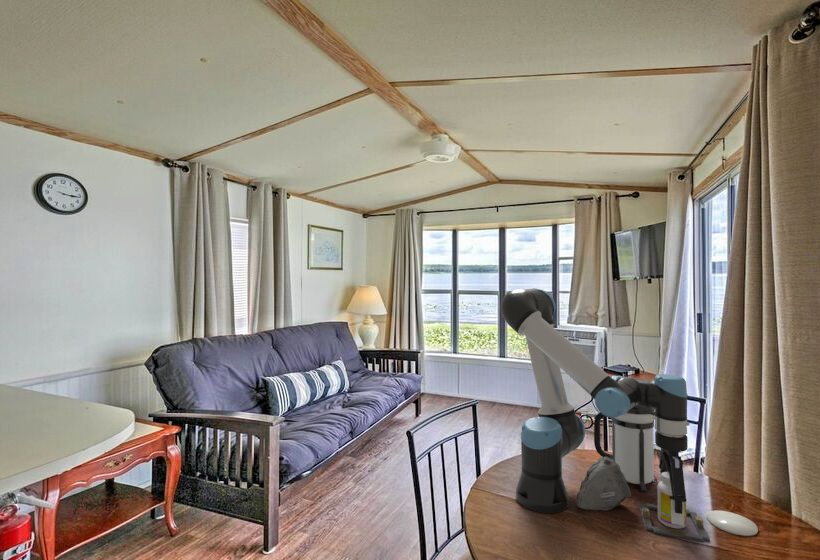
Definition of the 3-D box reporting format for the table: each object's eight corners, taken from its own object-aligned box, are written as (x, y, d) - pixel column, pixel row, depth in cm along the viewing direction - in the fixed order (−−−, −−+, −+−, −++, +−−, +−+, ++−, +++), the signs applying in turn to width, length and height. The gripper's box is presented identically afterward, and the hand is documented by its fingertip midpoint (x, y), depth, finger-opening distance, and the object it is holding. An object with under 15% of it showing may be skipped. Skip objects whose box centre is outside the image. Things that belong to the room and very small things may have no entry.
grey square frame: (646, 531, 111) (646, 522, 111) (638, 504, 124) (638, 496, 124) (710, 543, 105) (710, 533, 105) (695, 514, 119) (695, 505, 119)
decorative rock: (624, 502, 125) (623, 451, 125) (637, 514, 119) (636, 461, 119) (570, 503, 125) (570, 453, 125) (580, 516, 118) (580, 463, 118)
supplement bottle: (690, 531, 111) (690, 482, 111) (663, 528, 112) (662, 480, 112) (679, 517, 117) (679, 471, 117) (653, 514, 119) (653, 469, 119)
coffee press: (646, 470, 146) (645, 384, 146) (667, 494, 130) (667, 397, 130) (593, 468, 148) (593, 383, 148) (608, 490, 132) (607, 395, 132)
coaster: (713, 530, 111) (713, 528, 111) (701, 509, 121) (701, 507, 121) (765, 539, 107) (765, 537, 107) (748, 517, 117) (748, 514, 117)
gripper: (700, 452, 102) (701, 539, 102) (676, 420, 125) (677, 491, 125) (664, 447, 104) (665, 533, 104) (647, 417, 128) (648, 487, 128)
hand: (671, 510), depth 115 cm, fingers open, 13 cm apart
